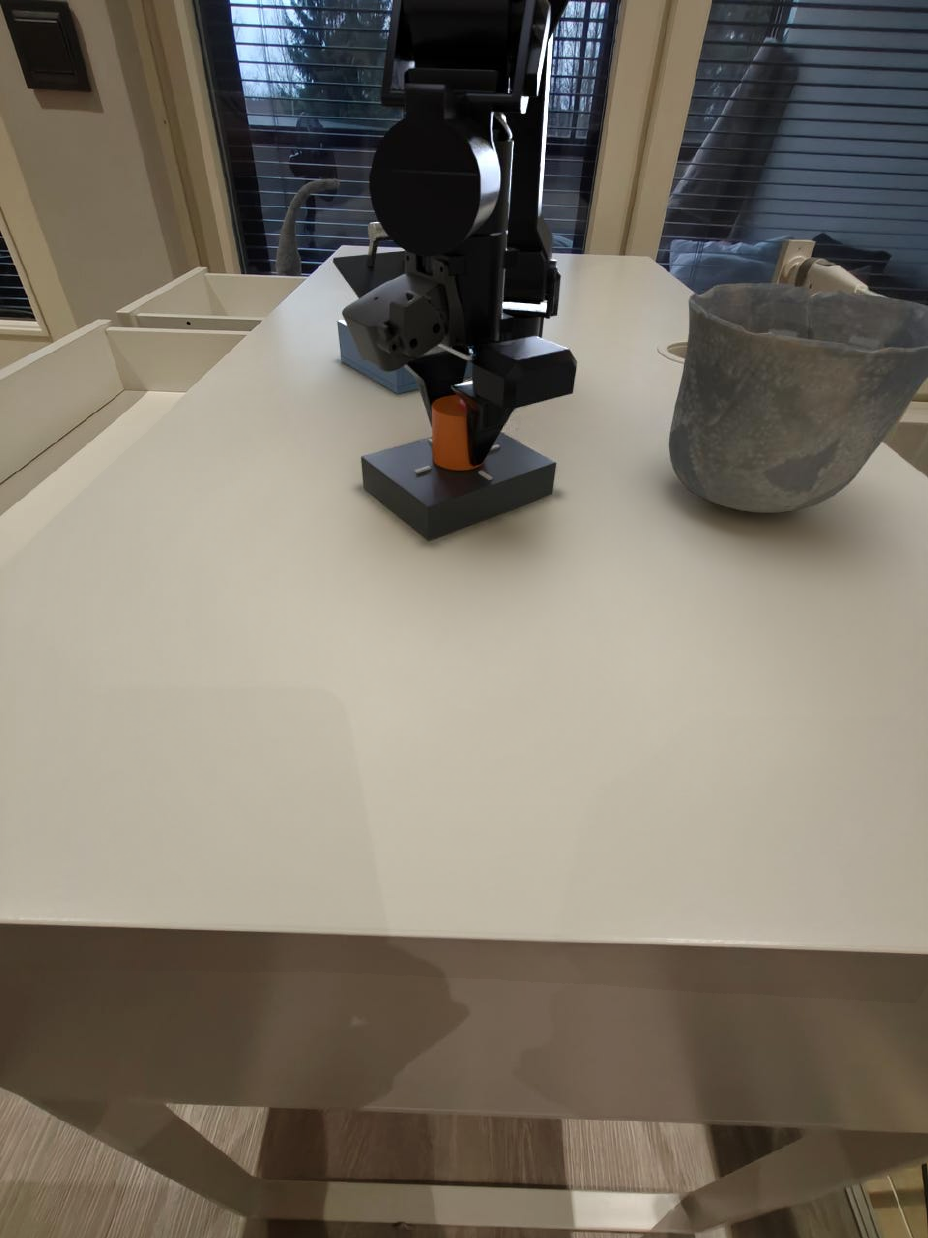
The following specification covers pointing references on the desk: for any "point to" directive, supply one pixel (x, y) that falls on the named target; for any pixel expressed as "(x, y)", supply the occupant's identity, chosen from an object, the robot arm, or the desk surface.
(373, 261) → the lid
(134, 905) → the desk surface
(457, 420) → the dial
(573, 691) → the desk surface
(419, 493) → the control panel
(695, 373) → the grey stone pot
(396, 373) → the blue open box
